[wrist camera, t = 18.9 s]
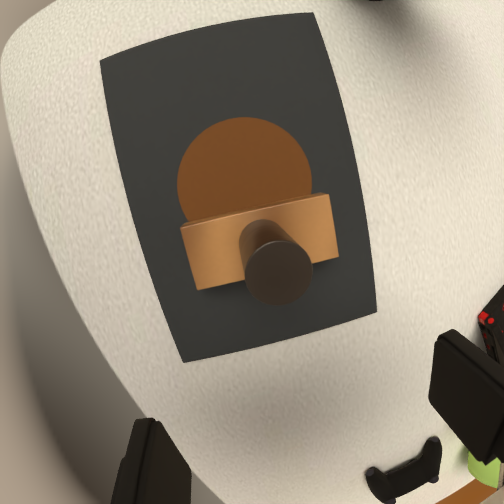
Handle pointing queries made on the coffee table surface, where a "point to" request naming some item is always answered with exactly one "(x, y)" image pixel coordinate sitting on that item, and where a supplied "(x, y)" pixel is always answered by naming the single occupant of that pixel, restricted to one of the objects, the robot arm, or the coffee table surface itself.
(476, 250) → the coffee table surface
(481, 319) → the handheld gaming console
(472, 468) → the teapot
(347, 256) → the scrub mat
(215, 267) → the scrub brush
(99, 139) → the coffee table surface
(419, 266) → the coffee table surface
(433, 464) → the gaming controller
